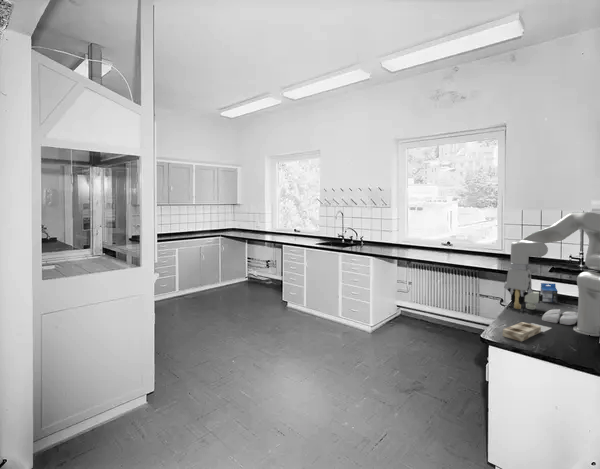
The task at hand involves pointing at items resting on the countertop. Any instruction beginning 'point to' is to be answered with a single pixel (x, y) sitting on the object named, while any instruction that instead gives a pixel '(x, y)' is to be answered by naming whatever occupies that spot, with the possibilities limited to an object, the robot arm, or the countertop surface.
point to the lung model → (566, 319)
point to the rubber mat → (543, 327)
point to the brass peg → (517, 299)
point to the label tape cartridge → (549, 292)
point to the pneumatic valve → (533, 299)
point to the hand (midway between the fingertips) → (517, 302)
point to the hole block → (521, 331)
